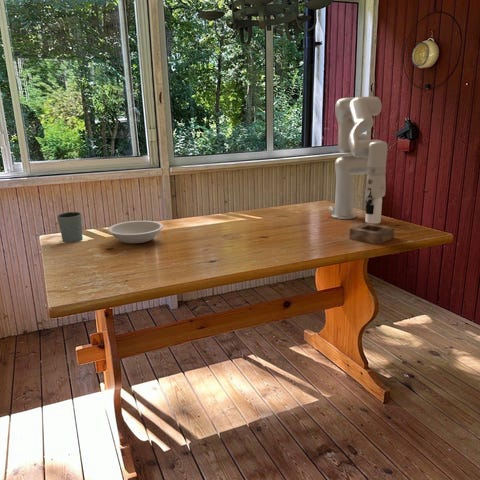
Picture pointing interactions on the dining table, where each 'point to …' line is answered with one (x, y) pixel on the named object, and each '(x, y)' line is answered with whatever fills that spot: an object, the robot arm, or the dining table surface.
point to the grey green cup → (70, 226)
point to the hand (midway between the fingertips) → (373, 212)
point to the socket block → (371, 233)
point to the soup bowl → (135, 231)
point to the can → (375, 212)
